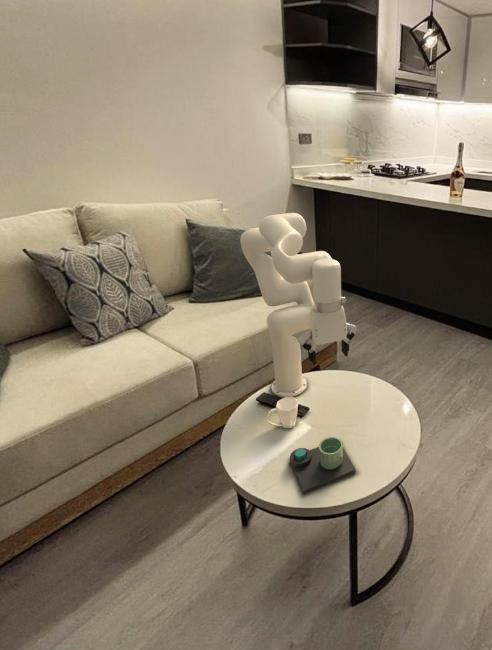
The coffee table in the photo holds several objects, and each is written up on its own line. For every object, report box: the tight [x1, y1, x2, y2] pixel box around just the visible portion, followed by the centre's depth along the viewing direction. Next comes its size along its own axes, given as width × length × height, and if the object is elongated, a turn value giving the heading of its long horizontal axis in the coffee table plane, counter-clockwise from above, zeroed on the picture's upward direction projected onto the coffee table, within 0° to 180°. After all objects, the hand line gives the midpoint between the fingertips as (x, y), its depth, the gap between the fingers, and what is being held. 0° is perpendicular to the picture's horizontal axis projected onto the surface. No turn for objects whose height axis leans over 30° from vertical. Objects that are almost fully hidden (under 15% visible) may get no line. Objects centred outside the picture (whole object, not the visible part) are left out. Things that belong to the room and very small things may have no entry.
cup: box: [266, 396, 299, 429], centre depth 130 cm, size 7×10×8 cm
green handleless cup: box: [318, 436, 344, 469], centre depth 115 cm, size 7×7×6 cm
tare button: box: [295, 448, 306, 461], centre depth 116 cm, size 3×3×2 cm
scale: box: [289, 446, 357, 495], centre depth 116 cm, size 14×16×3 cm
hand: (329, 357), depth 117 cm, fingers open, 9 cm apart
